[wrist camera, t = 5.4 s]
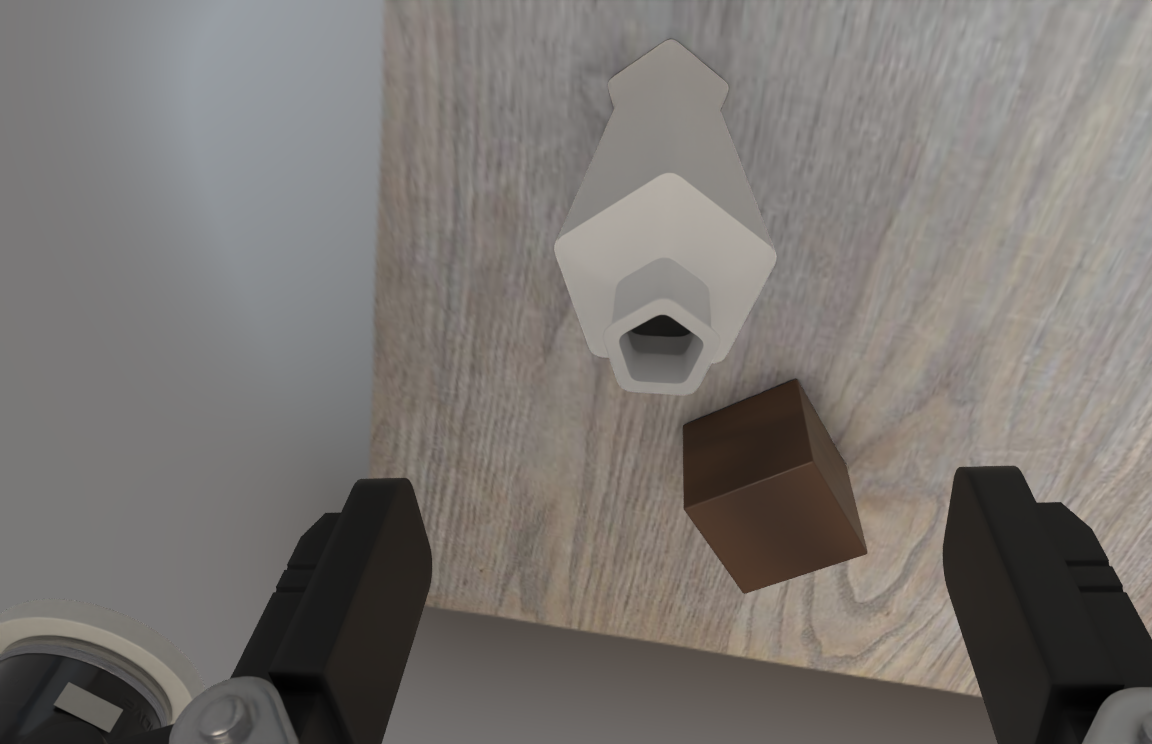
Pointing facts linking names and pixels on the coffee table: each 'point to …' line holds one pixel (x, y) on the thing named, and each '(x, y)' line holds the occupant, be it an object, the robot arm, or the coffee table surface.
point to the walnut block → (770, 489)
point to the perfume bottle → (664, 229)
